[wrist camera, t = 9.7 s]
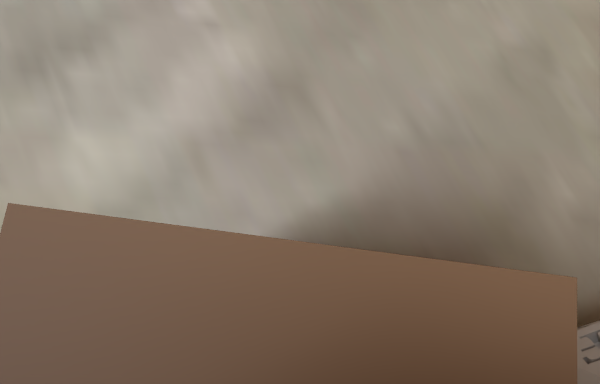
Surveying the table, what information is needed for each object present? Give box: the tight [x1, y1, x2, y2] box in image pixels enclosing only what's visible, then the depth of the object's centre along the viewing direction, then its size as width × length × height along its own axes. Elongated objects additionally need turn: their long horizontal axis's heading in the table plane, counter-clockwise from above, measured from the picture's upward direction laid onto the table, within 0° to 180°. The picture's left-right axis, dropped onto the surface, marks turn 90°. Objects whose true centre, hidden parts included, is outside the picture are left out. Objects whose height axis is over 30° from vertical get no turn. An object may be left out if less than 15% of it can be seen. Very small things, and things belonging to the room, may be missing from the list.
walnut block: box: [0, 203, 577, 384], centre depth 10 cm, size 5×5×13 cm
